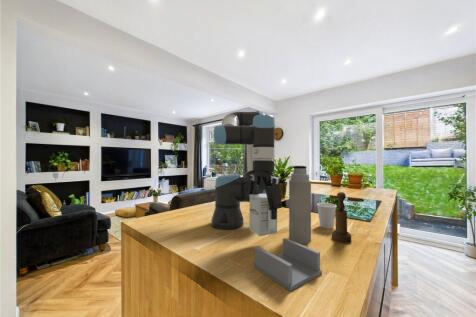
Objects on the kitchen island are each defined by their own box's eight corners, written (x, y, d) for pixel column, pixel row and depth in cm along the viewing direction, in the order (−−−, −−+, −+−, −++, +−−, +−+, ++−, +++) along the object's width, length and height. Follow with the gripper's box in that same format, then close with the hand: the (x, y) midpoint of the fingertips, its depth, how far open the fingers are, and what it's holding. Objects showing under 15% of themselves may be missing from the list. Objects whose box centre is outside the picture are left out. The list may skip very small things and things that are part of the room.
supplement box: (248, 229, 72) (248, 194, 72) (266, 226, 75) (266, 193, 75) (258, 236, 65) (259, 198, 65) (277, 233, 68) (278, 196, 68)
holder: (253, 266, 56) (253, 246, 56) (284, 255, 63) (284, 237, 63) (290, 291, 46) (290, 266, 46) (321, 274, 53) (321, 252, 53)
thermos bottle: (309, 236, 79) (309, 165, 80) (312, 244, 72) (312, 166, 72) (288, 234, 81) (288, 165, 82) (289, 242, 73) (289, 165, 74)
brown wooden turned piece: (329, 239, 76) (329, 192, 77) (334, 235, 81) (334, 190, 81) (348, 244, 72) (348, 194, 72) (353, 239, 77) (353, 192, 77)
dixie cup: (316, 222, 97) (316, 202, 97) (335, 224, 94) (335, 203, 95) (317, 228, 89) (317, 205, 90) (337, 230, 87) (337, 207, 87)
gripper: (237, 159, 76) (237, 219, 77) (277, 160, 59) (277, 237, 60) (252, 159, 81) (252, 216, 81) (294, 160, 64) (293, 231, 64)
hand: (263, 224), depth 70 cm, fingers closed on supplement box, 8 cm apart
